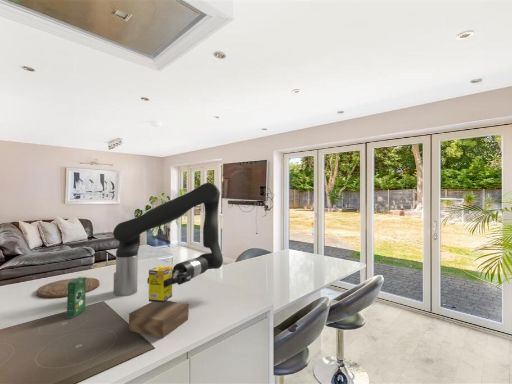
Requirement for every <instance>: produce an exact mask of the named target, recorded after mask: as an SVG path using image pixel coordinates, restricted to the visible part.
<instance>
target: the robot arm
mask: <svg viewBox="0 0 512 384" xmlns="http://www.w3.org/2000/svg"><path fill="white" fill-rule="evenodd" d="M220 197H221V192H220V190H219V188H218V187H217V185H216V184H215V183H212V182H205V183H203V184H201V185H199V186H197V187H196V188H194V189H193V190H191V191H188V192H187V193H184V194H183V195H180V196H178V197H176V198H173V199H170V200H168V201H165V202H163V203H161V204H159V205H158V206H155V207H154V208H152V209H150V210H147V212H145V213H143V214H141V215H139V216H137V217H134V218H132V219H129V220H125V221H121V222H120V223H118V224H116V226H115V227H114V229H113V233H112V235H113V238H114V239H115V240H116V241H118V242H119V244H118V247H117V249H116V251H115V272H114V273H113V294H114V295H116V296H123V297H124V296H131V295H133V294H136V293H137V292H138V273H139V272H138V270H139V269H138V267H139V266H138V265H139V264H138V263H139V262H138V261H139V259H138V258H139V255H138V254H139V249H140V239H141V234H142V233H144V232H147V231H148V230H151V229H154V228H159V227H161V226H164V225H167V224H169V223H171V222H173V221H176V220H177V219H179V218H181V217H182V216H185V215H184V214H186V213H187V212H189V211H190V210H191V209H193V208H194V207H196V206H200V205H202V204H203V206H204V222H203V226H202V240H203V241H202V245H203V247H204V248H207V249H210V251H211V252H207V253H206V252H205V253H202V254H201V255H199V256H198V257H195V258H191V259H187V260H184V261H182V262H178V263H176V264H175V265H174V266H173V267H172V278H169V279H166V280H164V282H163V286H164V287H167V286H169V285H172V286H173V285H176V284H177V286H178V285H179V286H180V285H183V284H186V283H188V282H190V281H191V280H192V279H194V278H196V277H198V276H200V275H202V274H205V272H206V271H208V270H217V269H220V268H221V267H222V265H223V262H224V260H223V259H224V257H223V253H222V251H221V247H220V244H219V243H220V242H219V220H218V216H219V215H218V213H219V203H220ZM146 281H147V284H148V285H149V276H148V277H147V279H146ZM113 294H112V295H113Z"/></svg>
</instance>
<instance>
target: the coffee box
mask: <svg viewBox="0 0 512 384" xmlns="http://www.w3.org/2000/svg"><path fill="white" fill-rule="evenodd" d="M75 278H76V279H74V280H72V281H70V282H68V297H66V298H67V300H66V301H67V304H66V305H67V306H66V318H67V319H74V318H75V317H77V316H78V315H79V314H80V313H82V312H84V311H85V309H86V293H85V287H86V278H87V277H86V276H78V277H75Z"/></svg>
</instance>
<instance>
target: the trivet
mask: <svg viewBox="0 0 512 384" xmlns="http://www.w3.org/2000/svg"><path fill="white" fill-rule="evenodd" d="M76 278H77V277H73V278H65V279H61V280H56V281H53V282H50V283H46V284H44V285H42V286H39V287H38V288H37V289H36V296H37V297H39V298H41V299H63V298H67V297H68V282H70V281H72V280H74V279H76ZM99 286H100V280H99V279H97V278H94V277H86V287H85V294H86V293H90V292H91V291H94V290H96V289H97V288H99Z"/></svg>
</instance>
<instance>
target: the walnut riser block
mask: <svg viewBox="0 0 512 384" xmlns="http://www.w3.org/2000/svg"><path fill="white" fill-rule="evenodd" d="M188 321H189V303H184V302H183V303H182V302H177V301H171V300H166V301H165V302H164V303H162V302H149V303H146V304H145V305H143V306H141V307H139V308H137V309H135V310H134V311H133V310H132V311H131V312H129V313H128V331H129V332H135V333H137V334H143V335H147V336H151V337H156V338H159V339H164V338H166V337H167V336H168V335H169V334H171V333H172V332H173V331H175V330H176V329H178V328H179V327H180V326H182V325H183V324H184V323H186V322H188Z"/></svg>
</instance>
